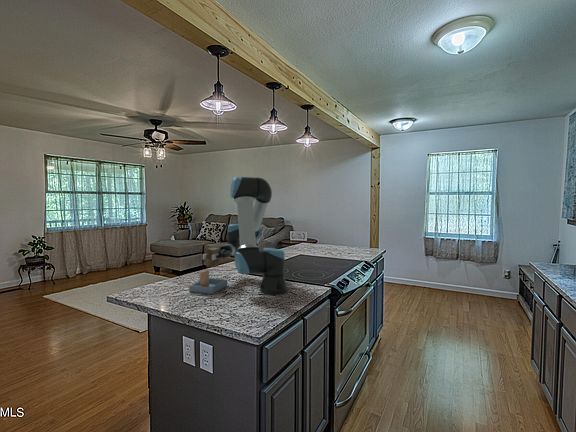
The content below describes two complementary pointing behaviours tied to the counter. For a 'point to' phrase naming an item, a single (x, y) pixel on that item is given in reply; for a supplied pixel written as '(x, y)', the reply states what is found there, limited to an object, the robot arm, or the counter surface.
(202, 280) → the canister
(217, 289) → the tray
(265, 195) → the robot arm
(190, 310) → the counter surface
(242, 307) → the counter surface
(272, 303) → the counter surface
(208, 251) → the walnut block
